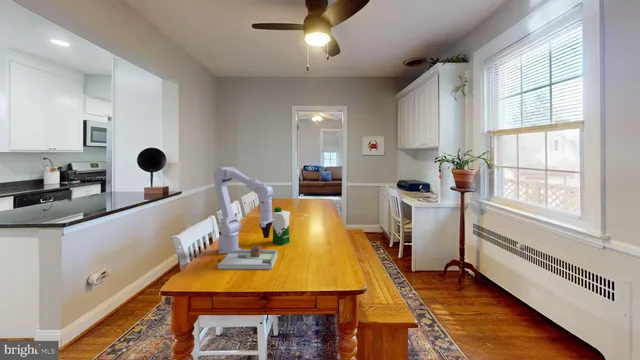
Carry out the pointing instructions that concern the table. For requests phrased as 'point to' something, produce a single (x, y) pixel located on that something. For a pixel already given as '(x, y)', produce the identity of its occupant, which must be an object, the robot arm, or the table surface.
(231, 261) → the tray
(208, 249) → the table surface
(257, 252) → the walnut block
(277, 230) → the milk carton
